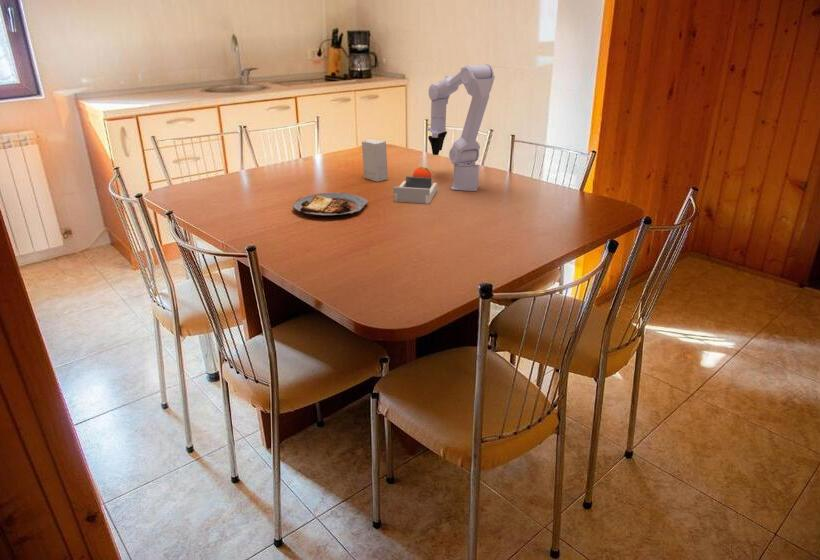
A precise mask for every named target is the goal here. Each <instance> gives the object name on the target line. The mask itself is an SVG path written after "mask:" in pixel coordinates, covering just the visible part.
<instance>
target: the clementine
mask: <svg viewBox="0 0 820 560" xmlns="http://www.w3.org/2000/svg"><path fill="white" fill-rule="evenodd" d="M430 171H431V172H432V173H434V171H433V169H431V168H430V167H425V166H420V167H418V168H416V169H415V170H414V171H413V173H412V177H426V178H432V173H431V172H430Z"/></svg>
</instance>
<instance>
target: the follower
mask: <svg viewBox="0 0 820 560" xmlns="http://www.w3.org/2000/svg"><path fill="white" fill-rule="evenodd" d="M405 181H406V187H411V188H427V189H430V188H431V186H432V185H433V183H432V177H431V178H426V177H413V176H409V175H408V176H405Z"/></svg>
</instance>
